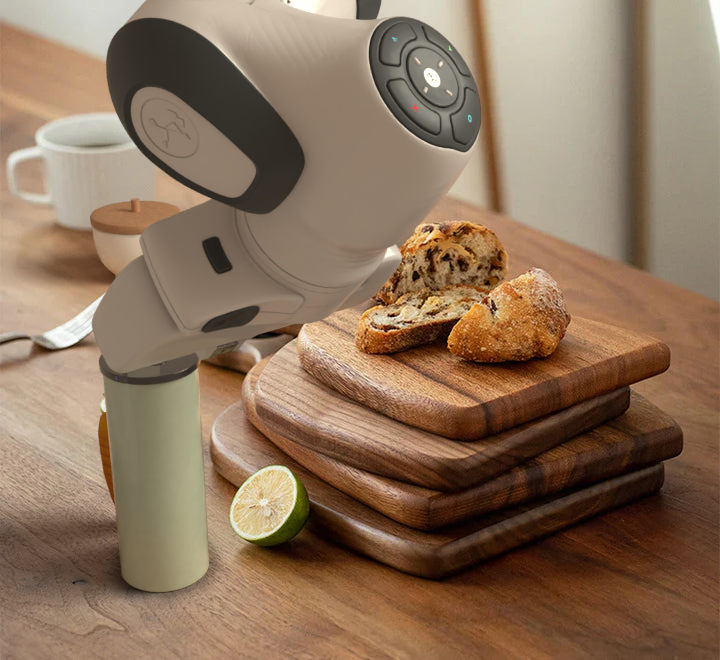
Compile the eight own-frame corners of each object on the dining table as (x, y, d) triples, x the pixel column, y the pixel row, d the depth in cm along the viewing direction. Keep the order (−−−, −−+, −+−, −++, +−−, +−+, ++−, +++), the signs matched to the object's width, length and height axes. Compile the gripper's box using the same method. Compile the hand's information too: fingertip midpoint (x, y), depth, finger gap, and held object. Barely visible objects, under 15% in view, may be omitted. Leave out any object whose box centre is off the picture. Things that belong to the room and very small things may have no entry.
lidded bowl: (166, 292, 148) (161, 214, 144) (80, 285, 150) (73, 208, 146) (197, 262, 159) (193, 190, 155) (117, 256, 162) (111, 185, 157)
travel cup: (147, 606, 84) (128, 386, 77) (102, 561, 90) (81, 352, 82) (229, 570, 89) (219, 359, 81) (181, 530, 94) (168, 328, 87)
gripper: (404, 172, 70) (314, 274, 80) (118, 230, 58) (57, 341, 68) (449, 255, 68) (351, 348, 79) (164, 333, 56) (95, 429, 67)
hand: (212, 345), depth 74 cm, fingers closed
